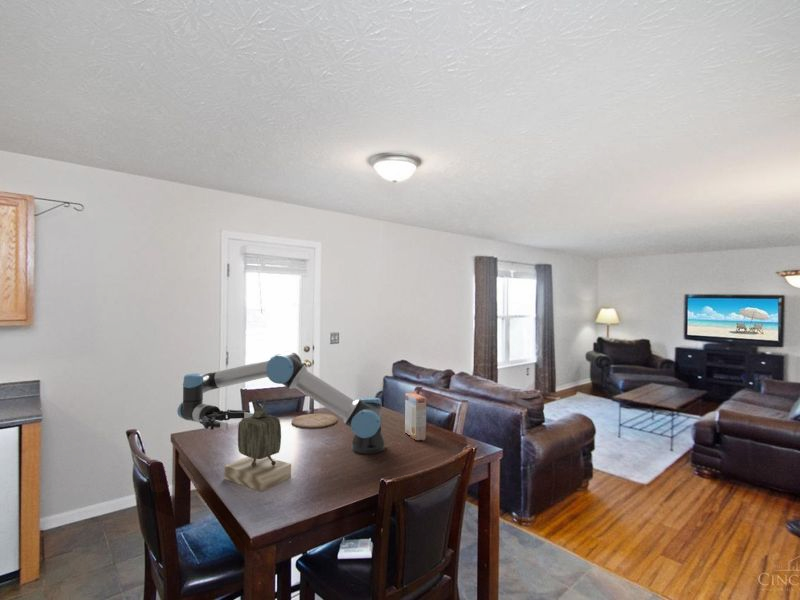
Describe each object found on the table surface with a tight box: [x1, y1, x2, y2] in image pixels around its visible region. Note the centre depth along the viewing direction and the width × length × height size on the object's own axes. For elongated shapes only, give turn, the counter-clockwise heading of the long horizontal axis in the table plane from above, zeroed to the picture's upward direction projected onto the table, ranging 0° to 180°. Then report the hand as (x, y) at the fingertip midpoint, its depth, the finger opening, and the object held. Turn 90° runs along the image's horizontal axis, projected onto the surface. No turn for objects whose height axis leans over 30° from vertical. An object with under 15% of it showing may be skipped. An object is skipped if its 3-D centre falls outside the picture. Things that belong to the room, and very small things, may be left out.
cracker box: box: [404, 392, 427, 441], centre depth 201 cm, size 14×6×21 cm, turn 22°
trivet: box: [291, 413, 338, 429], centre depth 225 cm, size 25×25×2 cm
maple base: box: [223, 456, 292, 492], centre depth 150 cm, size 20×14×5 cm
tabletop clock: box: [237, 397, 282, 467], centre depth 151 cm, size 14×9×25 cm, turn 58°
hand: (242, 421), depth 155 cm, fingers open, 13 cm apart
